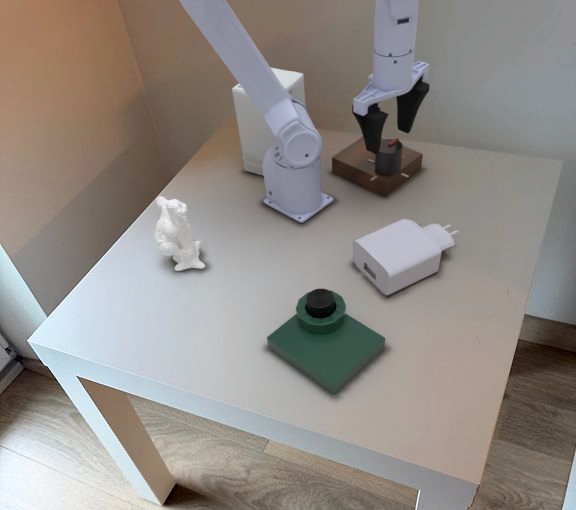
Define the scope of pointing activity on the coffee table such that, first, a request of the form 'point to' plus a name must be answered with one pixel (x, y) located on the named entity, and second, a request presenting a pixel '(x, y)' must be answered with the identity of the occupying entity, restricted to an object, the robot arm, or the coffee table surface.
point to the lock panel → (373, 167)
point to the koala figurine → (176, 235)
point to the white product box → (261, 120)
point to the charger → (401, 253)
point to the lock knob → (389, 157)
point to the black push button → (320, 303)
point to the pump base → (326, 344)
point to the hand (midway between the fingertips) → (388, 140)
